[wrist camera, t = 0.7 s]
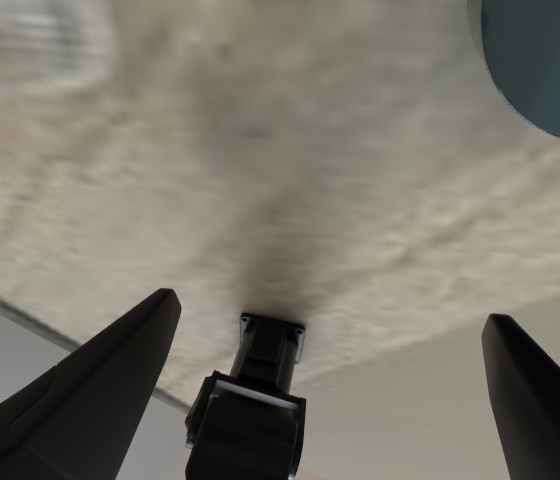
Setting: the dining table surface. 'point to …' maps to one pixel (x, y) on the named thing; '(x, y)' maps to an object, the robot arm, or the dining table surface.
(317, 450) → the dining table surface
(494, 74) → the pot
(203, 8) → the dining table surface
